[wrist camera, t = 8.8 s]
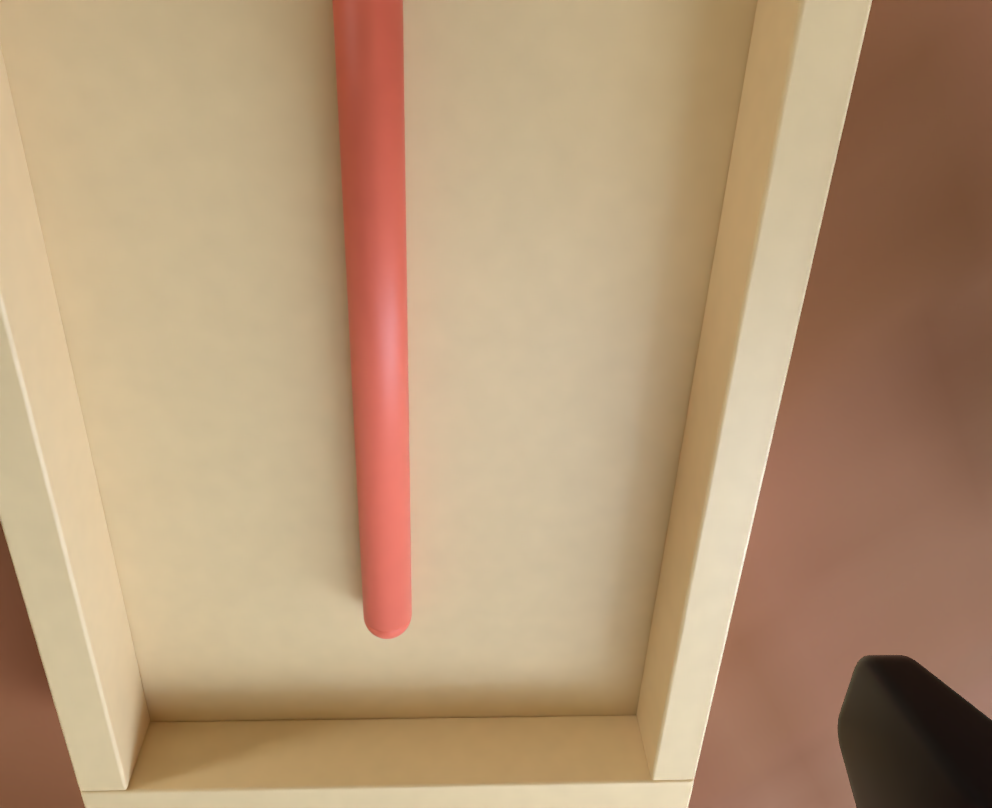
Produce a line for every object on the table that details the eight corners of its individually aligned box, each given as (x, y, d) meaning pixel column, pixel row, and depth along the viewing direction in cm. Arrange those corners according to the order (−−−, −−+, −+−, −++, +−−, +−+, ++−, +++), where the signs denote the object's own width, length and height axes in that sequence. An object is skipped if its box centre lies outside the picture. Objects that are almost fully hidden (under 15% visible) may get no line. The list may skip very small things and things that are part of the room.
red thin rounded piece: (409, 646, 15) (190, 419, 7) (364, 638, 15) (86, 406, 7) (484, 279, 18) (399, -224, 9) (445, 275, 18) (326, -226, 9)
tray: (664, 716, 18) (688, 809, 16) (123, 724, 18) (87, 822, 16) (917, -594, 9) (1038, -713, 7) (-219, -686, 8) (-407, -844, 6)
